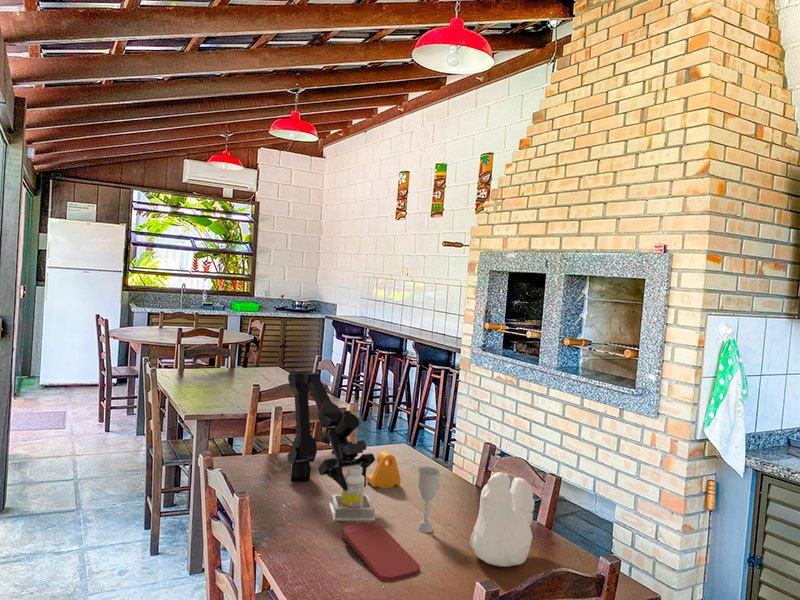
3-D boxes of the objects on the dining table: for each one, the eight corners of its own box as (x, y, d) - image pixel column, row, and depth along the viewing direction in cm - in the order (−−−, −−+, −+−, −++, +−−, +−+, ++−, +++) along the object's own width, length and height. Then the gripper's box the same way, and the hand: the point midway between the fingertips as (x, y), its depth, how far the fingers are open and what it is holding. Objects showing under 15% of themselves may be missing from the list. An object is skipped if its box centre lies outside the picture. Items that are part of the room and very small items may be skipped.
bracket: (391, 479, 219) (394, 448, 219) (400, 486, 212) (402, 454, 212) (365, 481, 214) (368, 449, 214) (373, 488, 208) (376, 455, 207)
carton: (419, 586, 151) (371, 533, 172) (423, 569, 151) (374, 517, 171) (380, 596, 145) (335, 540, 165) (383, 579, 144) (337, 524, 164)
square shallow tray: (333, 521, 177) (334, 509, 177) (329, 504, 190) (330, 493, 190) (375, 521, 180) (376, 509, 180) (368, 504, 192) (369, 494, 192)
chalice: (439, 527, 180) (444, 469, 179) (433, 535, 173) (438, 476, 173) (416, 522, 182) (421, 465, 181) (410, 530, 176) (415, 471, 175)
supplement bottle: (346, 501, 189) (350, 462, 189) (365, 506, 187) (369, 467, 186) (337, 508, 183) (341, 468, 182) (356, 513, 181) (360, 472, 180)
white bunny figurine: (495, 581, 149) (505, 486, 149) (455, 554, 162) (463, 467, 161) (558, 560, 164) (567, 474, 163) (517, 538, 177) (524, 457, 176)
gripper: (326, 434, 181) (342, 481, 173) (374, 429, 193) (391, 472, 185) (311, 451, 188) (326, 497, 180) (359, 445, 199) (375, 488, 191)
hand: (355, 488), depth 184 cm, fingers closed on supplement bottle, 7 cm apart
